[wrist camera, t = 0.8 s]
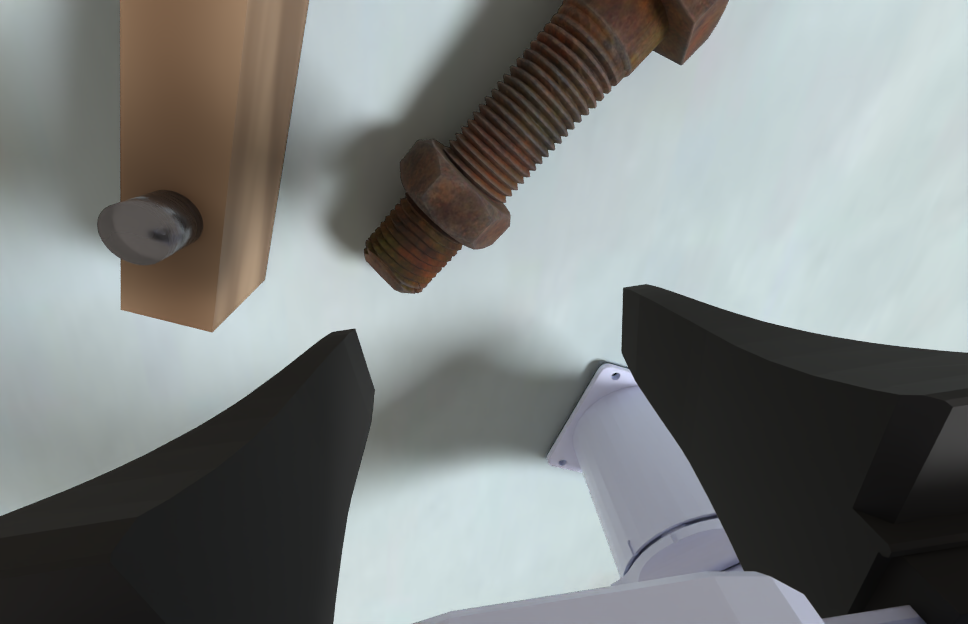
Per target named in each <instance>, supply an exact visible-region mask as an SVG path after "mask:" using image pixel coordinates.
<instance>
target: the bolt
mask: <svg viewBox="0 0 968 624" xmlns="http://www.w3.org/2000/svg"><path fill="white" fill-rule="evenodd" d="M728 1H729V0H563V4H562V6H561V7H560V8H559V10H558V13H557V14H555V15H554V16H553V17H552V19H551V23H548V24H546V25H545V27H544V31H543V32H539V34H538V36H537V40H534V41H532V42H531V43H530V45H531V49H526V50H525V51H524V53H523V54H524V59H523V58H520V57H519V58H518V59H517V67H515V66H511V67H510V72H511V76H510V75H507V74H504V75H503V77H504V83H503V82H500V81H499V82H497V84H498V89H499V90H496V89H492V91H491V92H492V97H493V98H491V97H487V96H486V97H485V101H486V105H482V104H479V108H480V113H479V112H473V115H474V120H471V119H468V120H467V122H468V127H461V128H462V133H463V134H456V139H457V141H455V140H450V146H451V147H446V146H444V145H443V144H441V143H440V142H438V141H437V140H434V139H429V140H418V141H417V142H416V143H415V144H414V146H413V147H412V148H411V149H410V151H409V152H408V153H407V154H406V156H405V157H404V158H403V159H402V161H401V162H400V172H401V180H402V184H403V186H404V188H405V190H406V191H407V193H406V198H402V199H401V201H400V203H401V204H397V205H395V209H394V210H391V213H390V215H388V216H386V219H385V221H384V222H381V225H380V227H378V228H377V229H376V230H375V232H374V233H372V235H371V236H370V238H368V240H366V248H365V249H364V255H365V260H366V261H367V262H368V263H369V264H370V265H371V266H372V267H373V268H374V270H375V271H376V272H377V273H378V274H379V275H380V276H381V277H382V278H383V279H384V280H385V281H386V282H387V283H388V284H389V285H390V286H391V287H392V288H393V289H394V290H396V291H399V292H401V293H413V294H415V293H419V292H422V290H423V288H425V287H426V286H427V284H428V283H429V282H430V281H431V280H432V278H434V277H436V274H437V273H439V272H440V271H441V270H442V267H444V266H445V265H446V264H447V262H448V261H451V258H452V256H455V255H456V254H457V251H458V250H461V248H462V245H464V246H467V247H469V248H472V249H482V248H485V247H487V246H490V245H492V244H493V243H494V242H495V241H496V240H497V239H498V238H499V237H500V236H501V235H502V234H503V233H504V232H505V231H506V230H507V228H508V227H509V226H510V212H509V211H508V209H507V208H506V206H505V205H504V204H503V203H505V202H506V197H505V196H512V192H511V190H518V187H517V183H521V184H524V180H523V177H530V172H529V170H533V171H535V170H536V166H535V164H536V163H537V164H542V156H543V157H548V156H549V155H548V150H555V145H554V143H559V144H561V143H562V141H561V137H560V136H565V137H567V136H568V133H567V129H572V130H573V129H574V128H575V127H574V122H578V123H580V122H581V121H582V119H581V115H588V114H589V109H588V108H595V107H596V106H597V105H596V100H597V101H601V100H602V99H603V98H604V95H603V93H607V94H608V93H609V92H610V91H611V86H616V85H617V84H618V83H619V82H620V81H621V80H622V78H624V77H627V76H629V75H630V74H631V73H632V72H633V71H634V69H635V68H636V67H637V66H638V65H639V64H640V63H641V62H642V61H643V60H644V59H645V58H646V57H647V56H648V55H649V54H650V53H651V52H652V51H655V52H657V53H659V54H660V55H662V56H664V57H666V58H668V59H670V60H672V61H674V62H675V63H677V64H679V65H683V63H684V62H685V61H686V60H687V59H688V58H689V57H690V56H691V55H692V54H693V53H694V52H695V51H696V50H697V49H698V48H699V47H700V46H701V45H702V44H703V43H704V42H705V41H706V40H707V39H708V37H709V36H710V34H711V33H712V31H713V30H714V28H715V27H716V25H717V24H718V22H719V20H720V18H721V16H722V14H723V12H724V10H725V8H726V6H727V4H728Z"/></svg>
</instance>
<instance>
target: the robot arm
mask: <svg viewBox="0 0 968 624" xmlns="http://www.w3.org/2000/svg"><path fill="white" fill-rule="evenodd" d="M622 354H623V357H624V359H625V361H626V363H627V365H628V368H629V369H627V368H623V367H620V366H616V365H613V364H608V363H607V364H603V365H601V366H600V367H599V368H598V370H597V372H596V373H595V375H594V377H593V379H592V380H591V382H590V384H589V385H588V387H587V389H586V390H585V392H584V394H583V396H582V397H581V399H580V401H579V402H578V404H577V406H576V407H575V409H574V411H573V412H572V414H571V416H570V418H569V419H568V421H567V423H566V424H565V426H564V428H563V429H562V431H561V433H560V435H559V436H558V438H557V440H556V441H555V443H554V445H553V446H552V448H551V450H550V451H549V453H548V455H547V461H548V464H549V465H551V466H555V467H559V468H564V469H568V470H573V471H577V472H582V473H583V476H584V478H585V481H586V484H587V487H588V489H589V492H590V495H591V498H592V500H593V503H594V506H595V509H596V511H597V514H598V517H599V520H600V523H601V525H602V528H603V531H604V534H605V536H606V539H607V542H608V545H609V547H610V550H611V553H612V556H613V558H614V561H615V564H616V567H617V570H618V572H619V575H620V578H621V579H619V580H618V581H616V582H614V583H613V584H611V586H609V587H603V588H596V589H590V590H584V591H577V592H571V593H565V594H558V595H552V596H546V597H539V598H533V599H526V600H520V601H514V602H507V603H501V604H495V605H488V606H482V607H476V608H469V609H463V610H457V611H451V612H447V613H444V614H441V615H438V616H435V617H432V618H429V619H426V620H422V621H419V622H416V623H413V624H968V353H963V352H950V351H939V350H929V349H919V348H909V347H900V346H892V345H884V344H876V343H869V342H863V341H856V340H850V339H844V338H838V337H832V336H826V335H821V334H816V333H811V332H806V331H802V330H797V329H793V328H788V327H784V326H780V325H775V324H771V323H768V322H764V321H760V320H757V319H753V318H750V317H746V316H743V315H740V314H736V313H733V312H730V311H727V310H724V309H721V308H718V307H715V306H712V305H709V304H706V303H703V302H700V301H697V300H694V299H692V298H689V297H686V296H683V295H680V294H677V293H674V292H672V291H669V290H666V289H662V288H659V287H656V286H652V285H647V284H645V285H638V286H632V287H625V288H623V315H622ZM614 373H617V374H616V375H615V376H612V375H613V374H614ZM374 392H375V389H374V386H373V383H372V380H371V377H370V374H369V371H368V367H367V364H366V361H365V358H364V355H363V352H362V349H361V345H360V342H359V339H358V336H357V333H356V330H355V329H349V330H343V331H336V332H332V333H330V334H328V335H327V336H325V337H324V338H322V339H321V340H320V341H318V342H317V343H316V344H314V345H313V346H312V347H311V348H309V349H308V350H307V351H305V352H304V353H303V354H302V355H300V356H299V357H298V358H297V359H295V360H294V361H293V362H292V363H290V364H289V365H288V366H286V367H285V368H284V369H283V370H281V371H280V372H279V373H277V374H276V375H275V376H273V377H272V378H271V379H269V380H268V381H267V382H265V383H264V384H262V385H261V386H260V387H258V388H257V389H256V390H254V391H253V392H252V393H250V394H249V395H247V396H246V397H245V398H243V399H242V400H240V401H239V402H237V403H236V404H234V405H233V406H231V407H229V408H228V409H226V410H225V411H223V412H221V413H220V414H218V415H217V416H215V417H213V418H212V419H210V420H208V421H207V422H205V423H203V424H202V425H200V426H198V427H197V428H195V429H193V430H191V431H189V432H187V433H185V434H183V435H182V436H180V437H178V438H176V439H174V440H172V441H170V442H169V443H167V444H165V445H163V446H161V447H159V448H157V449H155V450H154V451H152V452H150V453H148V454H146V455H144V456H142V457H139V458H137V459H135V460H133V461H131V462H129V463H127V464H125V465H123V466H121V467H118V468H116V469H114V470H112V471H110V472H107V473H105V474H103V475H101V476H98V477H96V478H94V479H92V480H89V481H87V482H85V483H82V484H80V485H78V486H75V487H73V488H71V489H68V490H66V491H63V492H61V493H58V494H56V495H53V496H51V497H48V498H46V499H43V500H41V501H38V502H36V503H33V504H30V505H28V506H25V507H23V508H20V509H18V510H15V511H13V512H10V513H8V514H5V515H3V516H0V624H333V621H334V611H335V602H336V594H337V586H338V578H339V570H340V563H341V555H342V548H343V542H344V535H345V529H346V522H347V516H348V511H349V507H350V502H351V497H352V494H353V490H354V486H355V482H356V479H357V475H358V471H359V467H360V464H361V460H362V456H363V453H364V449H365V445H366V441H367V437H368V433H369V429H370V425H371V420H372V412H373V403H374ZM560 460H562V461H560Z"/></svg>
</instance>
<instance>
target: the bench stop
mask: <svg viewBox="0 0 968 624" xmlns="http://www.w3.org/2000/svg"><path fill="white" fill-rule="evenodd" d="M308 4H309V0H120V189H121V202H119V203H116V204H113V205H110V206H108V207H107V208H105V209H104V210H103V211H102V212H101V213H100V215H99V217H98V222H97V227H98V232H99V235H100V237H101V239H102V241H103V243H104V244H105V245H106V247H107V248H108V249H109V250H110V251H111V252H112V253H114V254H115V255H116V256H118V257H119V258H121V310H124V311H128V312H132V313H136V314H140V315H144V316H148V317H152V318H156V319H160V320H164V321H168V322H173V323H177V324H181V325H185V326H189V327H193V328H197V329H201V330H205V331H209V332H213V331H214V330H215V329H216V328H217V327H218V326H219V325H220V324H221V323H222V322H223V321H224V320H225V319H226V318H227V317H228V316H229V315H230V314H231V313H232V312H233V311H234V310H235V309H236V308H237V307H238V306H239V305H240V304H241V303H242V302H243V301H244V300H245V299H246V298H247V297H248V296H249V295H250V294H251V293H252V292H253V291H254V290H255V289H256V288H257V287H258V286H259V285H260V284H261V283H262V282H263V281H264V280H265V275H266V269H267V263H268V256H269V250H270V244H271V238H272V231H273V225H274V219H275V212H276V206H277V200H278V193H279V187H280V181H281V174H282V168H283V162H284V156H285V149H286V143H287V137H288V130H289V124H290V118H291V111H292V105H293V99H294V92H295V86H296V80H297V73H298V67H299V61H300V55H301V48H302V42H303V36H304V29H305V23H306V17H307V10H308Z"/></svg>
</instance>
